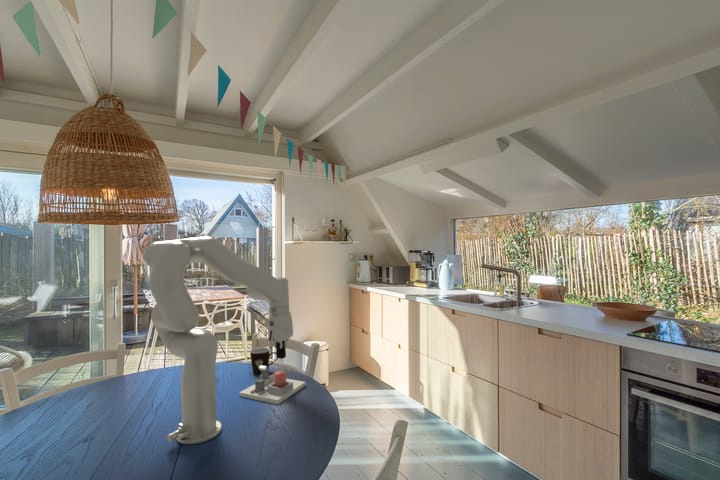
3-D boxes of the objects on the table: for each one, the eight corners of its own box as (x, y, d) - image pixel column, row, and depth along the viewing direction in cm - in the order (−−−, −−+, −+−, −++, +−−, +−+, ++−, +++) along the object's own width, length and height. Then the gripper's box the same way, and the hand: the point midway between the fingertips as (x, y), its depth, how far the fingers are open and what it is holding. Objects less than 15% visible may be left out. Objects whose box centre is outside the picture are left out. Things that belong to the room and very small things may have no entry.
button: (281, 387, 131) (281, 375, 131) (272, 385, 133) (271, 373, 133) (288, 383, 135) (288, 371, 135) (279, 381, 137) (279, 369, 137)
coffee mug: (246, 375, 155) (246, 352, 155) (257, 368, 163) (257, 347, 163) (269, 377, 152) (269, 354, 152) (279, 370, 160) (279, 348, 160)
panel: (277, 404, 126) (277, 393, 126) (239, 396, 133) (239, 385, 133) (305, 385, 142) (305, 375, 142) (270, 379, 150) (270, 370, 150)
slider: (260, 392, 132) (260, 382, 132) (255, 391, 133) (255, 381, 133) (264, 390, 134) (264, 379, 134) (259, 389, 135) (259, 379, 135)
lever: (269, 381, 143) (264, 368, 140) (263, 379, 144) (258, 367, 142) (271, 378, 144) (266, 366, 142) (265, 377, 145) (260, 365, 143)
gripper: (274, 314, 126) (276, 365, 126) (298, 306, 139) (300, 352, 140) (258, 313, 129) (260, 363, 129) (283, 305, 143) (285, 350, 143)
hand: (281, 357), depth 134 cm, fingers closed
